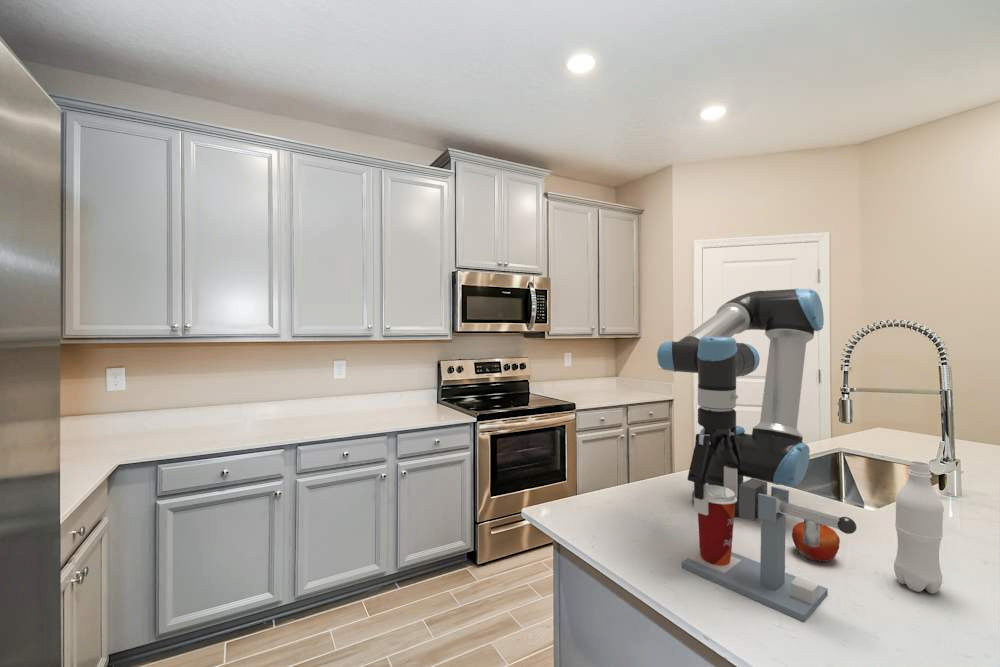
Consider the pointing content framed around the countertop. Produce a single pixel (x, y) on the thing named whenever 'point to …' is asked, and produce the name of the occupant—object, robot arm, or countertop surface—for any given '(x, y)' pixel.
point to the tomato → (826, 543)
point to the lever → (790, 512)
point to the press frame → (765, 568)
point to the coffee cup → (717, 526)
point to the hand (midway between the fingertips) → (716, 504)
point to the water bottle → (919, 531)
